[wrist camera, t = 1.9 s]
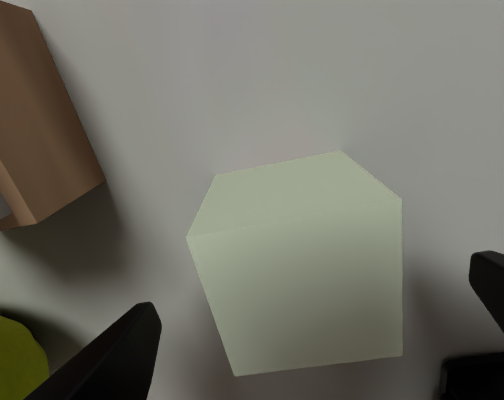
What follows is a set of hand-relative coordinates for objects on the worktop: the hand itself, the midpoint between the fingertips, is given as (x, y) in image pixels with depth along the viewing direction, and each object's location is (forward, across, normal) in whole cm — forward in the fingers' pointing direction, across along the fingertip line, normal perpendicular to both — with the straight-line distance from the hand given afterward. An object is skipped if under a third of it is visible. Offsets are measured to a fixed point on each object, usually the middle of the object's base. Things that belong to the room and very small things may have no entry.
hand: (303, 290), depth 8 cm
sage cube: (+4, 0, 0) cm, 4 cm away
